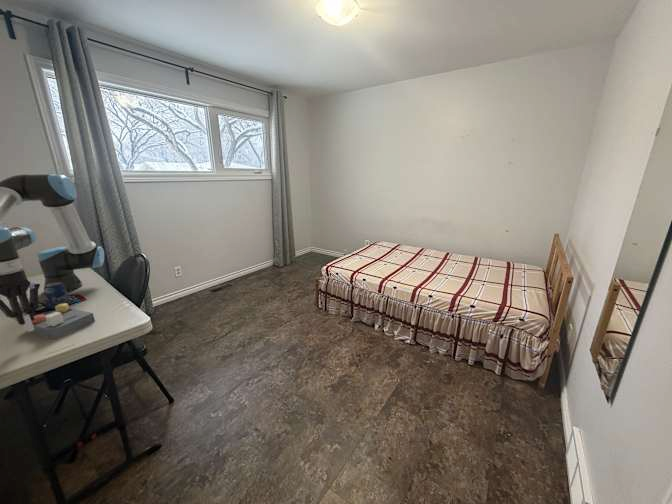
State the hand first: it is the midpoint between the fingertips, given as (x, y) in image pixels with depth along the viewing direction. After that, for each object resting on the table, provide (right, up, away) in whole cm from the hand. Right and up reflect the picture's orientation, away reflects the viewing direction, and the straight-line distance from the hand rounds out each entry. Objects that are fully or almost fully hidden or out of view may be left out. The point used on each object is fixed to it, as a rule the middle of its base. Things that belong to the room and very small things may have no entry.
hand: (29, 330), depth 101 cm
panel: (-1, -2, +13) cm, 14 cm away
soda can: (-19, +3, +30) cm, 35 cm away
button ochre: (-5, +3, +17) cm, 18 cm away
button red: (-7, 0, +10) cm, 13 cm away
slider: (+2, 0, +7) cm, 8 cm away
